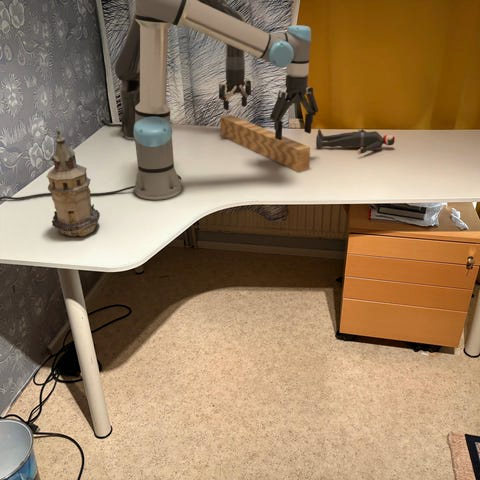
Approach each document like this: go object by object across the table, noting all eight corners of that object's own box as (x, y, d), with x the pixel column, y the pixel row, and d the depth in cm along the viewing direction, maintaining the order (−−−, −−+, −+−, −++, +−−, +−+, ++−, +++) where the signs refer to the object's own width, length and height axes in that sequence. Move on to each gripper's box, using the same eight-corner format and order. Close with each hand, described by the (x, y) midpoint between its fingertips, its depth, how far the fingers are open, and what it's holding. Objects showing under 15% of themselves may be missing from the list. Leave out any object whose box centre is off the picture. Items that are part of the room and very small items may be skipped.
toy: (319, 122, 224) (394, 122, 218) (319, 137, 227) (392, 137, 221) (314, 142, 202) (397, 143, 196) (314, 158, 205) (395, 159, 199)
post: (309, 168, 194) (310, 147, 190) (298, 171, 191) (299, 150, 187) (230, 133, 230) (230, 114, 226) (220, 135, 228) (220, 116, 224)
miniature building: (80, 214, 164) (63, 117, 149) (111, 225, 157) (96, 125, 142) (44, 231, 154) (22, 130, 140) (75, 244, 147) (55, 139, 133)
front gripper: (316, 68, 190) (312, 127, 201) (261, 77, 177) (259, 138, 188) (331, 72, 185) (326, 132, 195) (275, 81, 172) (272, 144, 183)
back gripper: (244, 63, 216) (244, 103, 224) (214, 67, 208) (215, 108, 216) (255, 66, 210) (254, 107, 218) (225, 71, 203) (225, 113, 211)
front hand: (293, 135), depth 192 cm, fingers open, 13 cm apart
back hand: (235, 108), depth 217 cm, fingers open, 8 cm apart
